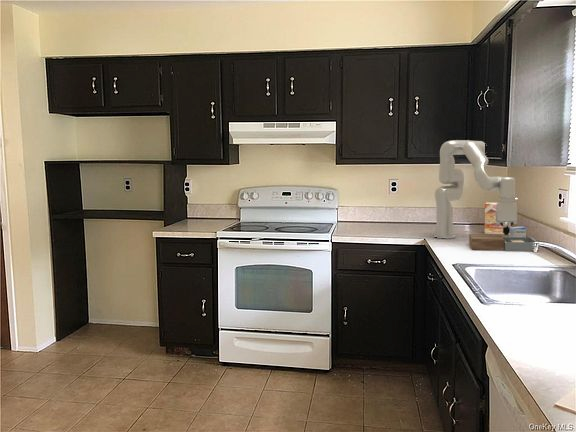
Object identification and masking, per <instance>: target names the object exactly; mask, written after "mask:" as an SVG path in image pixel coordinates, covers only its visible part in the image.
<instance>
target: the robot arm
mask: <svg viewBox="0 0 576 432" xmlns="http://www.w3.org/2000/svg"><path fill="white" fill-rule="evenodd" d="M485 144H486V143H485V142H484V141H482V140H470V139H467V140H464V139H463V140H462V139H460V140H459V139H456V140H454V139H453V140H452V139H451V140H448V141H445V142H444V143H443V144H441V146H440V150H439V169H438V181H439V183H440V184H443V185H440V186H438V187H437V188H436V189H435V191H434V198H435V204H436V205H435V206H436V208H435V209H436V228H435V229H436V230H435V231H436V234H435V233H434V235H433V238H435V237H437V238H436V239H441V238H446V240H448V239H455V238H456V235H455V234H453V229H454V228H453V227H454V225H453V223H454V222H453V219H454V218H453V217H454V213H453V212H454V211H453V210H454V209H453V205H452V202H455V201H459V200H460V199H461V198H462V197H463V193H464V183H465V174H464V171H463V170H462V169H461V168H459V167H455V164H456V162H455V161H456V160H455V157H454V156H456V155H457V156H459V155H465V157H466V158H467V160H468V161H469V163H470V164H471V165H472V167H473V168H474V170H473V174H474V180H475V181H476V182H477V184H478V185H479V187H480V189H482V190H483V191H486V192H490V191H499V195H498V197H499V199H498V200H499V201H498V202H497V203H498V204H497V209H496V223H497V224H501V225H502V226H503V233H504V234H505V235H504V236H509V235H508V233H510V227H513V225H517V224H518V223H519V222H518V207H517V203H516V202H517V201H518V198H519V197H518V198H517V197H515V196H516V179H515V177H511V176H506V177H505V176H499V175H497V176H489V175H488V174H487V173H486V171H485V167H486V166H488V164H489V159H488V157H487V155H486V153H485ZM444 184H445V185H444ZM505 222H508V224H507V227H506V225H505Z"/></svg>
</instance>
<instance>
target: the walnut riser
mask: <svg viewBox="0 0 576 432" xmlns="http://www.w3.org/2000/svg"><path fill="white" fill-rule="evenodd" d="M503 237H504V236H502V234H485V233H484V234H481V233H479V234H475V233H473V234H472V233H469V235H468V246H469V248H470V249H471V250H472V251H502V252H504V251H505V250H504V248H505V239H504V238H503Z"/></svg>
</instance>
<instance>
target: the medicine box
mask: <svg viewBox="0 0 576 432" xmlns="http://www.w3.org/2000/svg"><path fill="white" fill-rule="evenodd" d="M508 237H527V227H526V226H511V227H510V233H509V235H508Z"/></svg>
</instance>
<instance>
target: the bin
mask: <svg viewBox="0 0 576 432" xmlns="http://www.w3.org/2000/svg"><path fill="white" fill-rule="evenodd" d="M502 237H503V238H504V239H505V248H504V251H505V252H533V251H532V243H533V242H538V241H537V240H536V239H535V238H533V237H531V236H526V237H509V236H502ZM510 240H522V241H524V242H510ZM539 251H540V249H539V250H538V253H540V252H539Z"/></svg>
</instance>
